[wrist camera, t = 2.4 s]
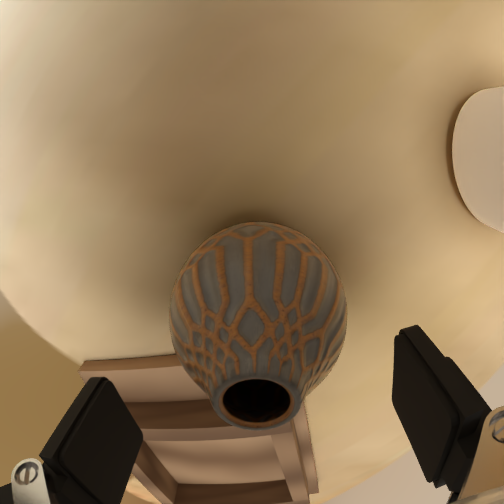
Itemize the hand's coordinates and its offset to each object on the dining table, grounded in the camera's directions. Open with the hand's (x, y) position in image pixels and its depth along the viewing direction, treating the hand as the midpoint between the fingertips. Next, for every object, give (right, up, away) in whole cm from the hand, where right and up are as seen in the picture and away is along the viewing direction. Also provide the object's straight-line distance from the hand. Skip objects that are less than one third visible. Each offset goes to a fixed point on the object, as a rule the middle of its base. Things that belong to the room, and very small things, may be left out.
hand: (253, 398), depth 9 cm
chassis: (-3, -10, +11) cm, 15 cm away
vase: (0, +3, +7) cm, 8 cm away
